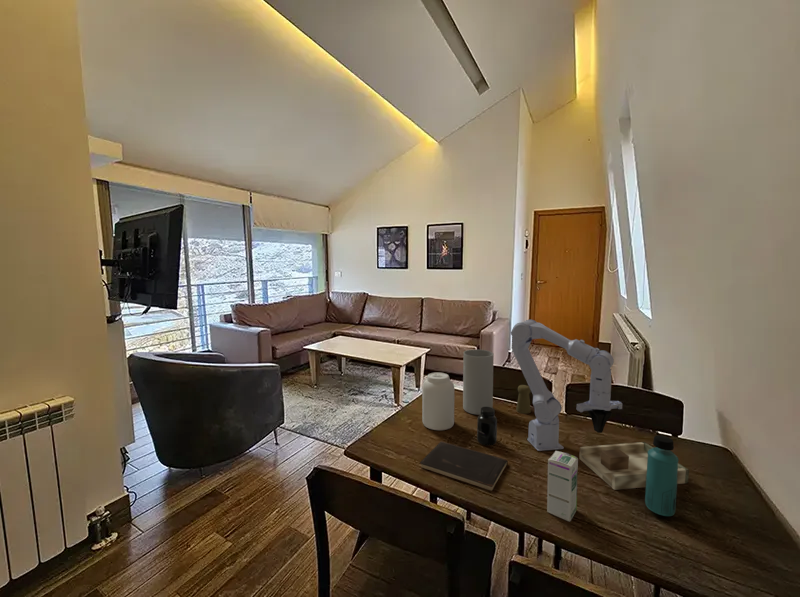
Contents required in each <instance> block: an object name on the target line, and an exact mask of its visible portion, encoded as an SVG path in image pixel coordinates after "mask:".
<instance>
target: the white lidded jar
mask: <svg viewBox="0 0 800 597" xmlns="http://www.w3.org/2000/svg"><path fill="white" fill-rule="evenodd" d="M421 393H422V394H421V395H422V396H421V399H422V400H421V401H422V409H421V410H422V411H421V412H422V417H421V419H422V420H421V421H422V424H423V426H424V427H426V428H428V429H430V430H432V431H433V430H434V431H445V430H450V429H451V428H452V427H454V424H455V386H454V383H453V381H452V380H451V379H450V376H449V374H447V373H444V372H440V371H439V372H431V373H428V374H427V377H426V379H425V380H424V381H423V383H422V391H421Z"/></svg>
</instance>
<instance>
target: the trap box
mask: <svg viewBox="0 0 800 597" xmlns="http://www.w3.org/2000/svg"><path fill="white" fill-rule="evenodd" d="M652 448H654V446H652V445H650V444H649V443H646V442H645V441H641V442H628V443H616V444H603V445H601V444H600V445H589V446H580V447H579V456H578V457H579V458H578V460H579V461H581V462H583V464H584V465H586V466H587V467H588V468H589V469H590V470H592V471H593V472H594V473H595V474H596V475H597V476H598V477H599V478H600V479H602V481H604V482H605V483H606V484H607V485H609V487H611V488H612V489H613V490H614V491H615V490H616V491H618V490H628V489H636V488H637V489H638V488H640V489H641V488H646V485H645V484H646V479H645V478H646V474H647V471H646V470H647V460H648V450H650V449H652ZM618 449H619V450H621V451H622V452H624V453H625V454H626V455H628V456H629V464H628V469H622V470H611V471H610V470H608V469H607V468H606V467H605V466H604V465H602V464H601V451H605V450H618ZM689 474H690V469H689V468H687V467H685V466H683V465H682V464H681V463H679V462H678V471H677V476H678V477H677V485H682V484H688V483H689V477H690V476H689Z"/></svg>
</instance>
